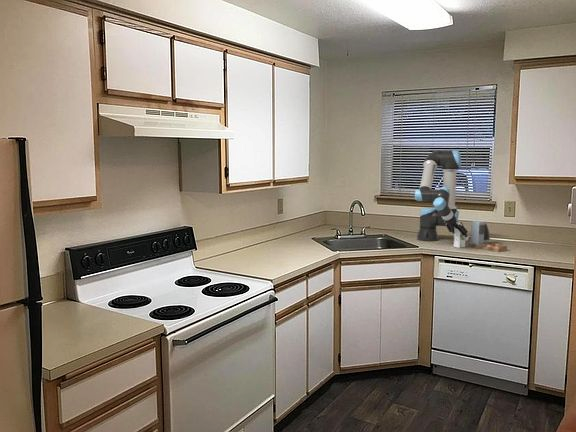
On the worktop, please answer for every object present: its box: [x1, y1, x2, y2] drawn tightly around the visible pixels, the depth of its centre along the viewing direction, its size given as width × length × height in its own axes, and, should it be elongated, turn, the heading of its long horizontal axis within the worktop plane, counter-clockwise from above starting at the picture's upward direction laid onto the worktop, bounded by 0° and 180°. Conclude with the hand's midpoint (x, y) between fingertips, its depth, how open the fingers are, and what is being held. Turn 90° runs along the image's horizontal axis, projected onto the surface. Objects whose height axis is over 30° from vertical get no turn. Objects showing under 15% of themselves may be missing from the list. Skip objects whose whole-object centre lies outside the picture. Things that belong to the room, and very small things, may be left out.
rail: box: [467, 242, 508, 253], centre depth 340 cm, size 23×9×3 cm, turn 34°
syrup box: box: [452, 225, 467, 249], centre depth 344 cm, size 6×6×14 cm
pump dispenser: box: [484, 222, 491, 244], centre depth 357 cm, size 10×10×15 cm
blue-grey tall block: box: [470, 220, 486, 245], centre depth 345 cm, size 7×6×15 cm
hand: (463, 238), depth 346 cm, fingers closed on syrup box, 6 cm apart
